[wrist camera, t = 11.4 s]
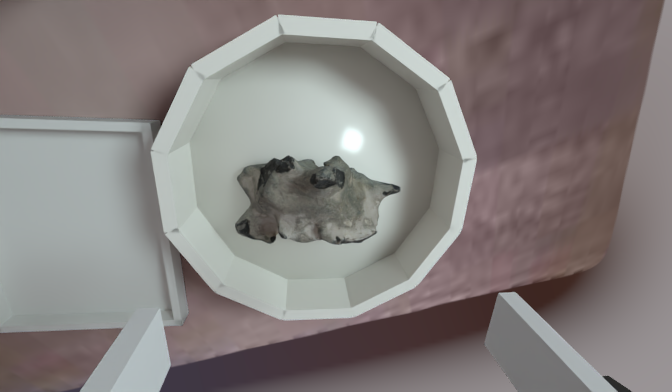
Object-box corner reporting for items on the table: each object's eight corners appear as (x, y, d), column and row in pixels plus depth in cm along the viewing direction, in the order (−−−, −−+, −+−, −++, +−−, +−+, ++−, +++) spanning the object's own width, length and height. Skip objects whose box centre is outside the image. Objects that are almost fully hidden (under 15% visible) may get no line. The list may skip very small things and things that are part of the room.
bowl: (198, 285, 35) (179, 324, 29) (164, 19, 26) (126, 3, 20) (422, 279, 38) (444, 314, 32) (464, 40, 29) (503, 31, 23)
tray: (10, 319, 34) (-7, 333, 32) (-73, 112, 26) (-102, 114, 24) (188, 312, 36) (182, 325, 34) (160, 120, 28) (150, 122, 26)
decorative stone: (251, 257, 32) (225, 299, 22) (225, 172, 31) (186, 177, 21) (397, 216, 33) (435, 240, 23) (377, 133, 32) (408, 120, 22)
